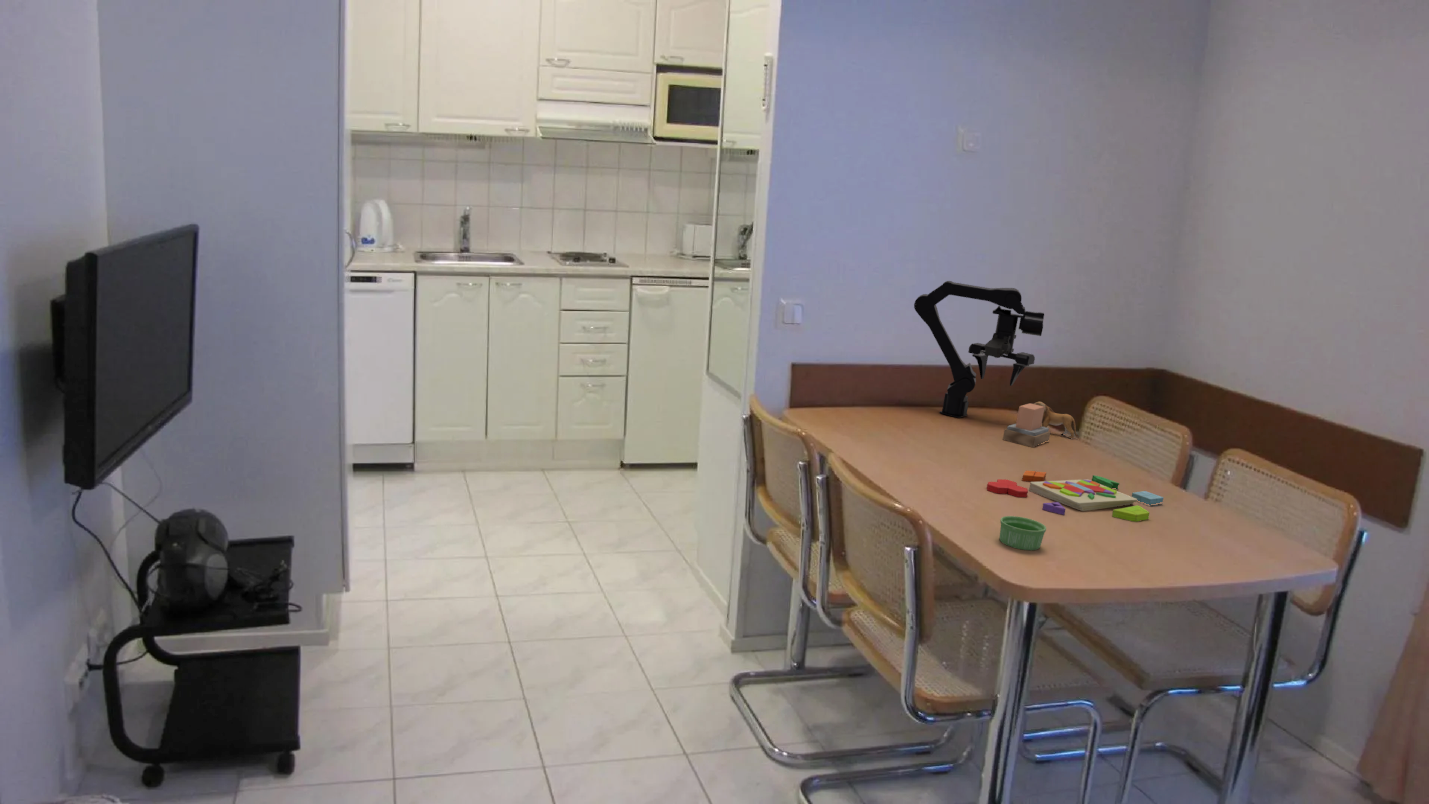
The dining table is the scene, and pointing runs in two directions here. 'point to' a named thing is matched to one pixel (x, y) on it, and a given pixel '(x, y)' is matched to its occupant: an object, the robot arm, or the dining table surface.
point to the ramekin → (1021, 532)
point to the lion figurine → (1057, 419)
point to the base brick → (1026, 435)
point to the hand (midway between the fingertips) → (996, 382)
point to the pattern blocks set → (1079, 495)
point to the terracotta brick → (1030, 416)
